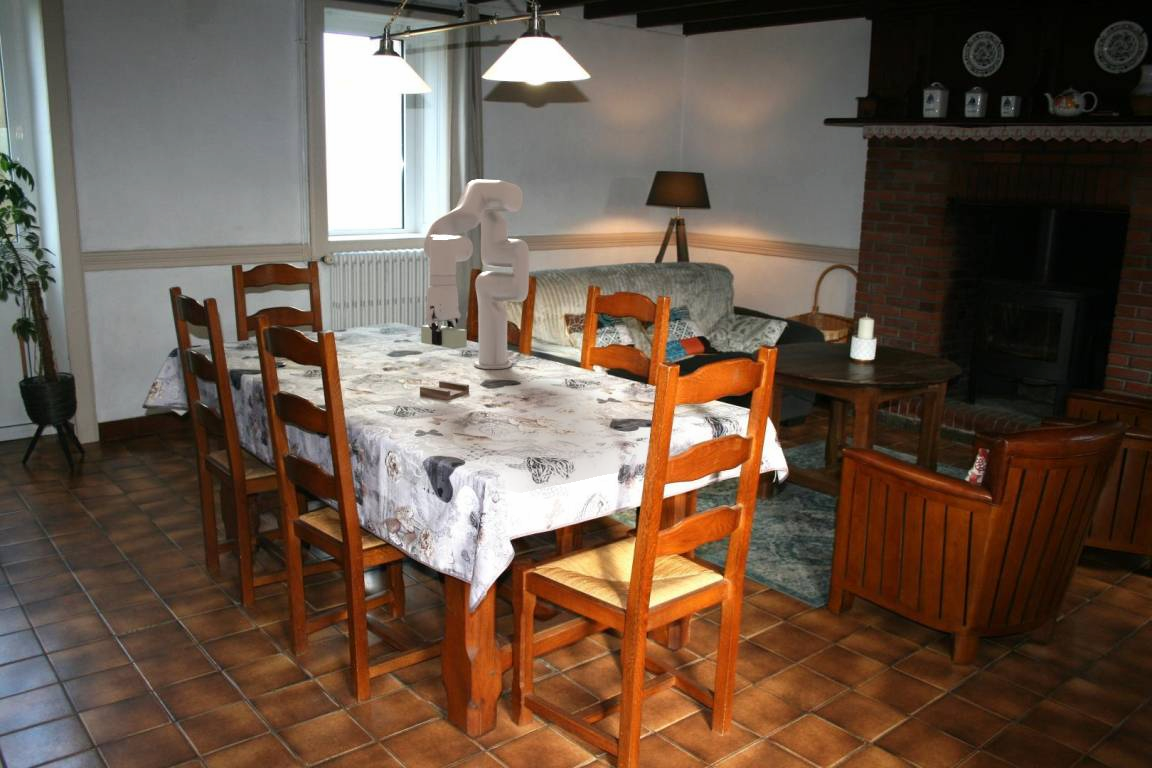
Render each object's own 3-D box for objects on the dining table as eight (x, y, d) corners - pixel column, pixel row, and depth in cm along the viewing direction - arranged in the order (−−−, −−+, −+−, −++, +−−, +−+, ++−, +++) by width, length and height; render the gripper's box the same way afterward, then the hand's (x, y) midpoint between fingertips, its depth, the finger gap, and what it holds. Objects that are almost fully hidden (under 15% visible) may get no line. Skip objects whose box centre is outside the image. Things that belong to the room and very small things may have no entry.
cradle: (442, 388, 297) (442, 380, 297) (469, 392, 293) (468, 384, 292) (419, 395, 289) (419, 387, 288) (447, 400, 284) (447, 391, 283)
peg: (434, 340, 293) (434, 324, 292) (466, 347, 284) (466, 329, 283) (421, 342, 290) (421, 325, 288) (453, 349, 281) (453, 331, 280)
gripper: (451, 277, 292) (451, 337, 296) (413, 282, 278) (414, 346, 281) (471, 279, 288) (471, 340, 292) (434, 284, 274) (435, 348, 278)
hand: (443, 342), depth 287 cm, fingers closed on peg, 5 cm apart
